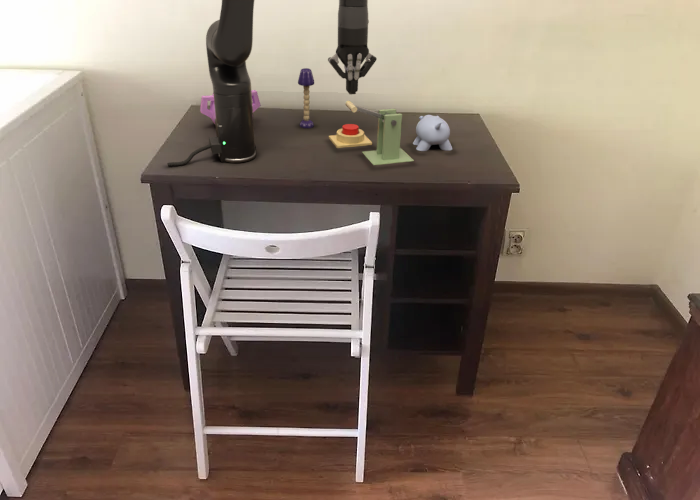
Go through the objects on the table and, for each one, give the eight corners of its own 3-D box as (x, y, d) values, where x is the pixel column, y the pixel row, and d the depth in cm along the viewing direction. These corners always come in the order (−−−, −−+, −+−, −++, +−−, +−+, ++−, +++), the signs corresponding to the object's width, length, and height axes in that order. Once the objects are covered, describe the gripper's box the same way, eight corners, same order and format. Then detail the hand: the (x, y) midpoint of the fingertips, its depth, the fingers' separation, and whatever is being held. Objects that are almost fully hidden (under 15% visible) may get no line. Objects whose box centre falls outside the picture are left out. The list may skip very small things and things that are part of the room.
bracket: (373, 169, 150) (375, 119, 143) (361, 155, 157) (363, 108, 151) (413, 164, 153) (417, 116, 146) (400, 152, 160) (403, 105, 154)
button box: (336, 151, 159) (337, 138, 158) (328, 141, 166) (328, 128, 164) (372, 148, 162) (372, 135, 160) (362, 138, 169) (363, 125, 167)
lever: (350, 113, 143) (353, 104, 142) (343, 107, 147) (347, 98, 146) (396, 128, 148) (400, 119, 148) (389, 122, 153) (392, 113, 152)
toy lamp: (317, 127, 175) (317, 70, 166) (303, 130, 173) (303, 72, 164) (309, 122, 178) (308, 66, 170) (295, 125, 176) (294, 68, 168)
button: (345, 136, 160) (345, 129, 159) (340, 131, 164) (340, 124, 163) (360, 135, 161) (360, 128, 160) (355, 130, 165) (355, 123, 164)
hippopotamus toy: (442, 136, 171) (446, 104, 166) (457, 156, 158) (461, 121, 153) (405, 137, 170) (408, 104, 165) (417, 157, 157) (420, 122, 152)
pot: (194, 121, 177) (190, 81, 171) (250, 113, 184) (248, 75, 178) (211, 141, 164) (207, 99, 158) (271, 132, 171) (269, 91, 165)
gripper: (373, 20, 153) (370, 87, 162) (323, 22, 149) (323, 91, 158) (383, 26, 147) (380, 95, 156) (331, 28, 143) (331, 99, 152)
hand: (351, 93), depth 157 cm, fingers closed
